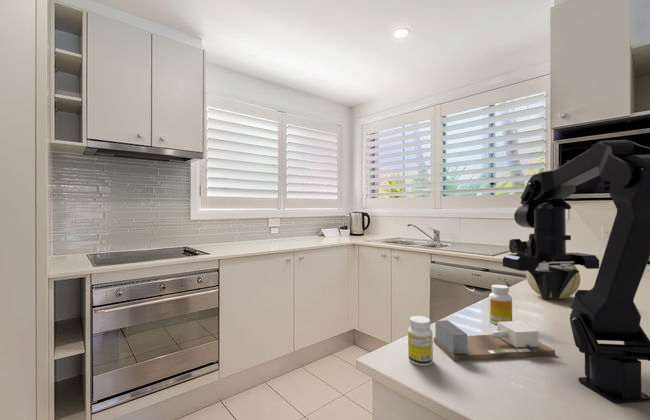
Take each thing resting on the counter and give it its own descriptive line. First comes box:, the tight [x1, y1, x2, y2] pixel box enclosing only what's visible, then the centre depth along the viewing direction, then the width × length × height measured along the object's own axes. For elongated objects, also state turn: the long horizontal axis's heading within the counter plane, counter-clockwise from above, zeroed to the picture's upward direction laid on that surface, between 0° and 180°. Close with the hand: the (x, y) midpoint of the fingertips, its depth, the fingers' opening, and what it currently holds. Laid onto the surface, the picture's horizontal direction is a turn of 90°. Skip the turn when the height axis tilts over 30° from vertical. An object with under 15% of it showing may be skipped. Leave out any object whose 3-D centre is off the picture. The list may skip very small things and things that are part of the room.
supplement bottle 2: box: [488, 284, 513, 325], centre depth 82 cm, size 5×5×10 cm
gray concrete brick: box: [434, 319, 468, 355], centre depth 66 cm, size 3×8×4 cm, turn 6°
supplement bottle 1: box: [407, 315, 434, 367], centre depth 62 cm, size 5×5×8 cm
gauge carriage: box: [490, 320, 539, 351], centre depth 67 cm, size 8×8×3 cm
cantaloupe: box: [525, 261, 581, 300], centre depth 104 cm, size 15×15×15 cm
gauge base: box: [433, 334, 556, 362], centre depth 67 cm, size 22×9×1 cm, turn 95°
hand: (550, 300), depth 69 cm, fingers closed
